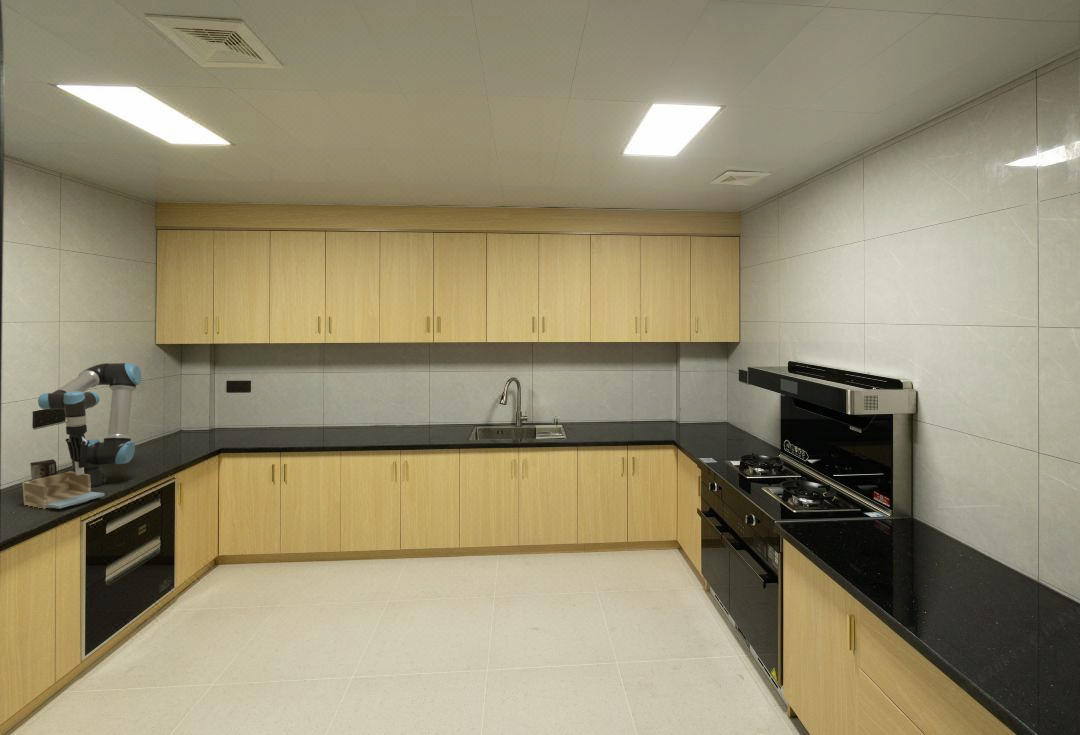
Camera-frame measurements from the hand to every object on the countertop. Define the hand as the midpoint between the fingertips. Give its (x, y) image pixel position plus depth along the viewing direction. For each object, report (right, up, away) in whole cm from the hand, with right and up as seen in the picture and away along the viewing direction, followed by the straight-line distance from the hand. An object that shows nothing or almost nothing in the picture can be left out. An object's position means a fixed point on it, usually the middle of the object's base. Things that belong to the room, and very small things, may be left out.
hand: (80, 474), depth 268 cm
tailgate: (-8, -13, +4) cm, 15 cm away
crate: (-15, -14, +7) cm, 22 cm away
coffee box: (-31, -13, +17) cm, 37 cm away
